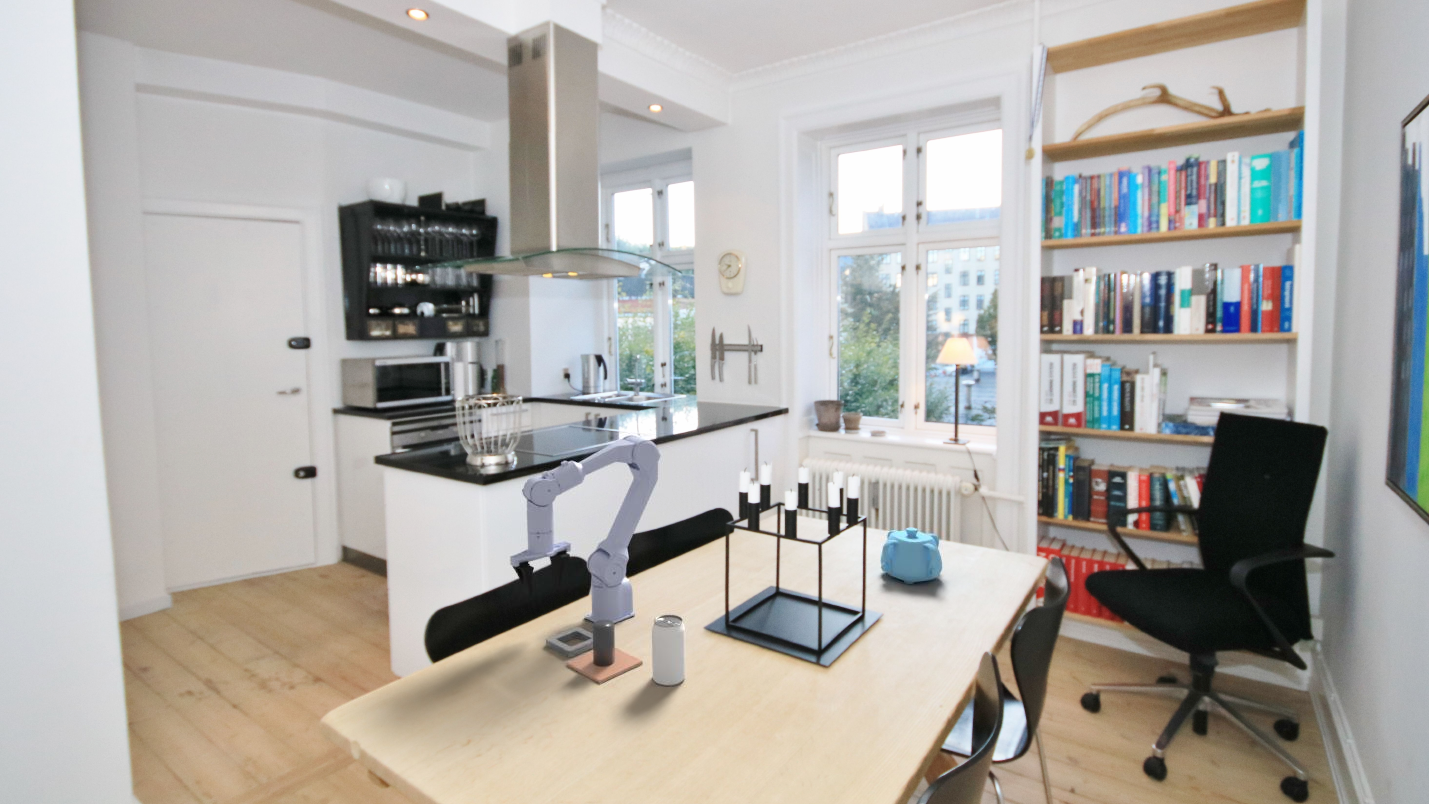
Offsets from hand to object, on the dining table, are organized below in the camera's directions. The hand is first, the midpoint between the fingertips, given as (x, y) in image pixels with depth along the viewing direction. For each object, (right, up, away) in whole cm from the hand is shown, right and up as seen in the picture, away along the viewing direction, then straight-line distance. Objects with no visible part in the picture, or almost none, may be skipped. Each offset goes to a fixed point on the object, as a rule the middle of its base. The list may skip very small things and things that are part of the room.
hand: (542, 588), depth 160 cm
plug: (+16, -11, -14) cm, 24 cm away
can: (+30, -13, -20) cm, 38 cm away
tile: (+16, -12, -14) cm, 24 cm away
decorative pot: (+93, -6, +36) cm, 100 cm away
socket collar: (+8, -11, -5) cm, 14 cm away
